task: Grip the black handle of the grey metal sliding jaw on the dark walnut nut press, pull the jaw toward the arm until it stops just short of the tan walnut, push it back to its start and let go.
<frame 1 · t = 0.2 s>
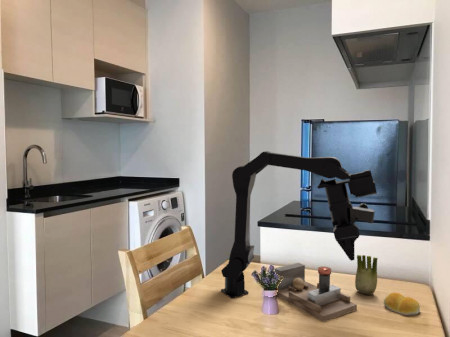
hand: (351, 255, 103), 15 cm above the table, tool pointing down, fingers open, 9 cm apart
fennel bulb: (365, 294, 114), on the table
bread roll: (401, 309, 104), on the table
sliding jaw: (324, 284, 104), point 7 cm above the table, slide at 0.0 cm
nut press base: (313, 302, 108), on the table
walnut: (298, 283, 113), point 3 cm above the table, touching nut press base
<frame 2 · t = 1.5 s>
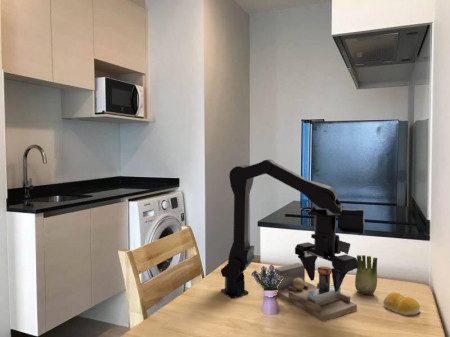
hand: (324, 285, 104), 6 cm above the table, tool pointing down, fingers open, 9 cm apart
nothing on the table moved.
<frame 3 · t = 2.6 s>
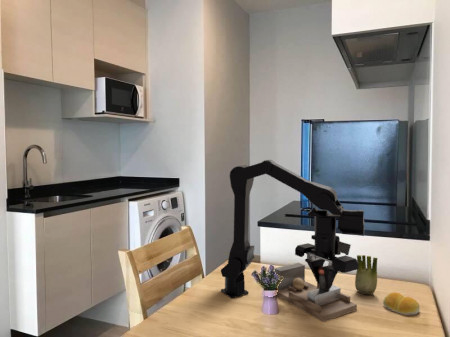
hand: (324, 286, 104), 6 cm above the table, tool pointing down, fingers closed on sliding jaw, 3 cm apart
sliding jaw: (324, 284, 104), point 7 cm above the table, slide at 0.0 cm, touching gripper
everything else where it was.
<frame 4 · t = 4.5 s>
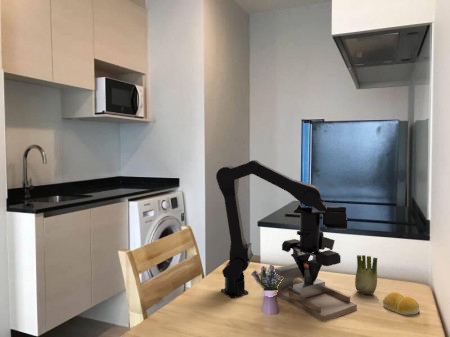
hand: (309, 280, 109), 6 cm above the table, tool pointing down, fingers closed on sliding jaw, 3 cm apart
sliding jaw: (309, 278, 109), point 6 cm above the table, slide at 5.9 cm, touching gripper
everything else where it was.
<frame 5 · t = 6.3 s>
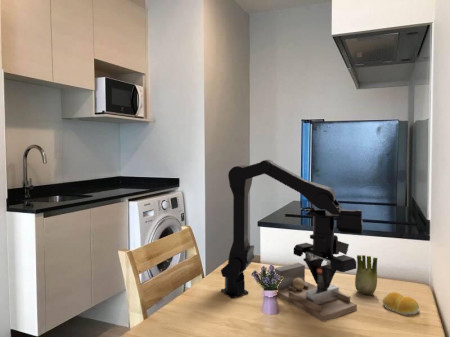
hand: (322, 285, 105), 6 cm above the table, tool pointing down, fingers closed on sliding jaw, 3 cm apart
sliding jaw: (322, 284, 105), point 6 cm above the table, slide at 0.7 cm, touching gripper
everything else where it was.
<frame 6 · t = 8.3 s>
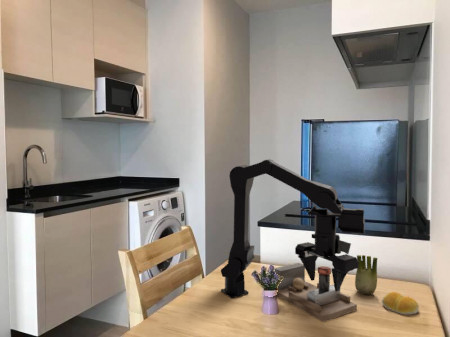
hand: (324, 285, 104), 6 cm above the table, tool pointing down, fingers open, 9 cm apart
sliding jaw: (324, 284, 104), point 6 cm above the table, slide at 0.1 cm
everything else where it was.
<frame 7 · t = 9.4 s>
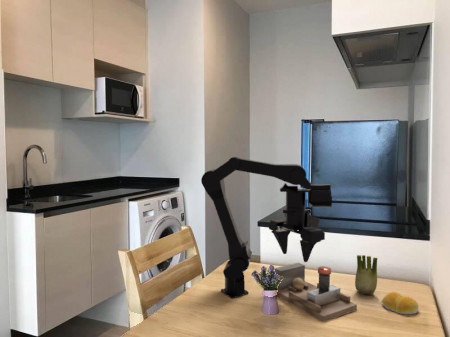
hand: (295, 257, 111), 12 cm above the table, tool pointing down, fingers open, 9 cm apart
nothing on the table moved.
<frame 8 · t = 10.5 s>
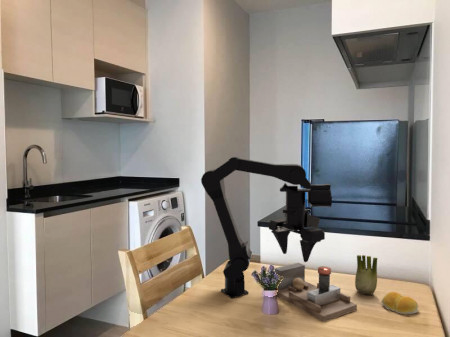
hand: (295, 257, 111), 12 cm above the table, tool pointing down, fingers open, 9 cm apart
nothing on the table moved.
at the end: sliding jaw slide at 0.1 cm; walnut moved 0.0 cm from its start; the gripper is holding nothing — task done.
